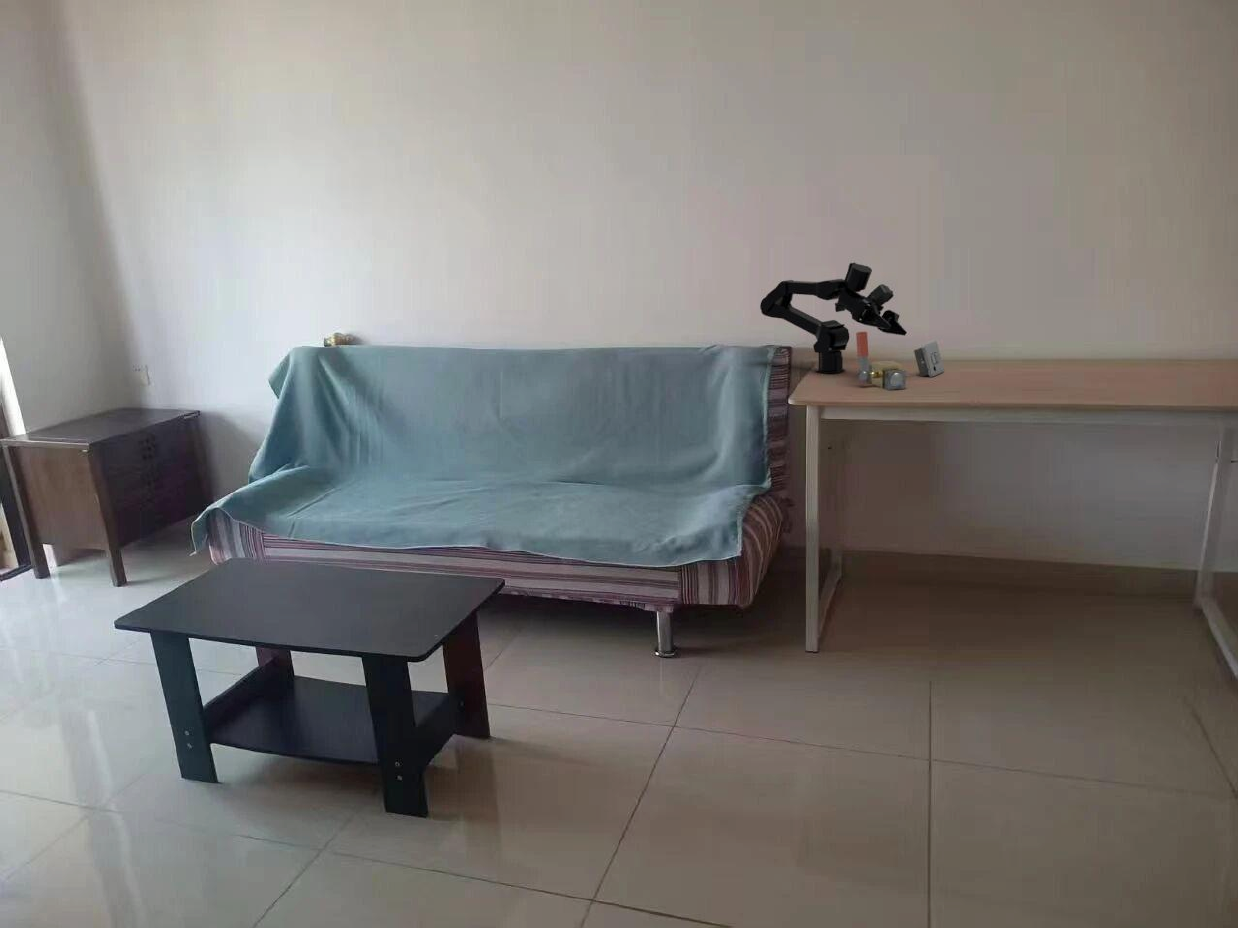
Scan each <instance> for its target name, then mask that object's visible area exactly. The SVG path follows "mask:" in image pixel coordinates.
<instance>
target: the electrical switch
mask: <svg viewBox="0 0 1238 928" xmlns="http://www.w3.org/2000/svg"><path fill="white" fill-rule="evenodd" d="M913 353H914V356H915V357H914V358H915V360H916V364H917V368H918V371H919V376H920V377H924V376H925V377H926V376H929V378H933V377H935V376H938V375H939V374H942V373H944V371H945V369H944V368H945V367H944V364H943V360H942V357H941V353H940V348H939V344H938V342H937V341H936V340H933V341H930V342H927V343H925V344H922V345H921V347H919V348H917V349H914V350H913Z"/></svg>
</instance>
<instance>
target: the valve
mask: <svg viewBox="0 0 1238 928" xmlns="http://www.w3.org/2000/svg"><path fill="white" fill-rule="evenodd" d="M868 371H869V374H870V379H869V381H868V382H869V383H871V384H872V385H874V386H877V387H878V388H879V387H880V388H881V389H886V390H887V391H890V390H891V391H892V390H903V389H906V380H907V379H906V378H907V377H906V375H907V371H906V370H904V369H903V364H902V363H900V362H896V361H893V360H885V361H884V360H882V361H872V362H871V364H868Z"/></svg>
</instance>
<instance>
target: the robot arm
mask: <svg viewBox="0 0 1238 928" xmlns="http://www.w3.org/2000/svg"><path fill="white" fill-rule="evenodd" d="M872 272H873V270H872V268H871V267H870V266H868V265H864V264H860V263H859V264H858V263H856V262H849V264H848V269H847V273H846V275H845V277H844V279H843V278H835V279H829V280H823V281H808V280H807V281H803V280H801V281H800V280H794V279H788V280H782V281H780V282H779V283H778V284H777V285H776V286H775V288H773V289H772V290H771V291H770V292H769V293H768V294H767V295H766V296H765V297H763V299H762V300H761V302H760V308H759V309H760V310H761V311H760V313H761V314H762V315H763V316H765V317H769V318H771V319H772V318H774V319H782V320H784V321H786V322H788V323H790V324H792V325H794V326H796V327H798V328H799V329H802V330H803V331H805V332H807V333H809V334H810V335H813V336H815V339H816V341H815V343H813V345H812V346H813V350H814V352H815V353H817V354H818V369H815V370H814V372H816V373H821V374H830V375H831V374H838V373H841V372H846V368H845V369H844V368H843V367H844V365H843V364H844V363H843V361H844V360H843V355H842V354H843V351H846V349H847V345H848V343H849V341H850V332H849V329H848V328H847V327H846V326H845V323H840V322H838V321H837V320H835V319H832V320H827V321H822V320H820V319H818V318H816V317H814V316H812V315H810V314H807V313H806V312H804V311H803V310H800V309H797V308H796V307H794V306H793V305H792V303H791V302H792V301H793V298H794V297H793V296H794V295H804V296H815V297H816V298H818V299H821V300H824V301H832V300H837V302H835V303H834V305H835V308H834V309H835V312H836V313H839V312H844V311H848V312H849V314H850V315H851V320H853V321H855V322H856V323H859V324H862V325H864V326H868V327H873V328H876V329H877V330H879V331H881V332H882V333H884V334H890V335H898V336H906V335H907V330H905V328H904V327H903V326H902V325H901V323H900V322H899V318H900V314H898V313H897V312H895V311H893V310H891V309H887V310H885V311H884V312H883V314H882V313H881V311H883V310H884V308H885V306H883V305H885V304H886V303H889V301H890V300H891V299H892V298H893V297H894V291H893V290H891V288H890V287H889V286H887V285H885V284H879V285H878V286H877V287H876V288H875V289H873V290H872V291H871V292H869V294H868V295H867V296H865V295H862V293H861V294H860V292H861V291H864V290H866V288H867V285H868V283H869V280H870V277H871V275H872ZM881 314H882V315H881Z"/></svg>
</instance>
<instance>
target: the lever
mask: <svg viewBox="0 0 1238 928" xmlns="http://www.w3.org/2000/svg"><path fill="white" fill-rule="evenodd" d="M855 335H856V350H857V351H856V353H857V357H858V365H859V372H858V381H859V382H861V383H863V382H869V379H870V374H869V364H868V363H869V362H868V357H869V345H868V343H869V342H868V341H869V340H868V332H867V331H859V332H856V333H855Z"/></svg>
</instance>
